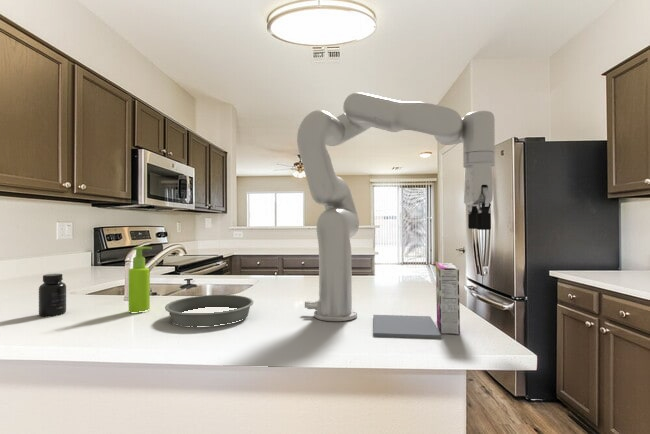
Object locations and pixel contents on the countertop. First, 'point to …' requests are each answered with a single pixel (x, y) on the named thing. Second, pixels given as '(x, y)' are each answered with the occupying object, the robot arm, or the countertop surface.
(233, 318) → the baking ring
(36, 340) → the countertop surface
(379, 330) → the mat
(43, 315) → the supplement bottle
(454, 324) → the candy bar box
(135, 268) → the soap dispenser
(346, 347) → the countertop surface
